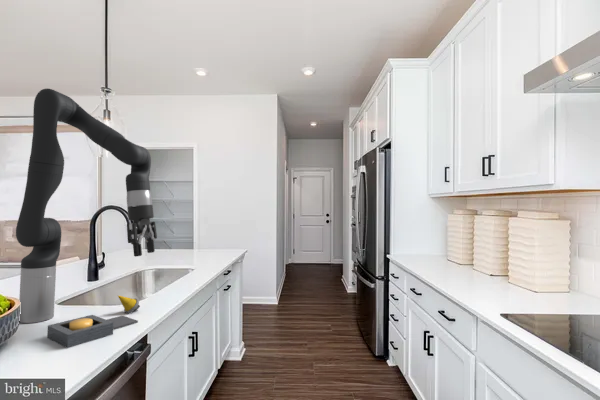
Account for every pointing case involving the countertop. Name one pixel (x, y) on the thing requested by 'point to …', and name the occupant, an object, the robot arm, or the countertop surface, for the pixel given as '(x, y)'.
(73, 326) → the button
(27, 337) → the countertop surface
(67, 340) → the grey open box
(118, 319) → the rest mat
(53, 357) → the countertop surface
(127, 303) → the ridged yellow cone
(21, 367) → the countertop surface
